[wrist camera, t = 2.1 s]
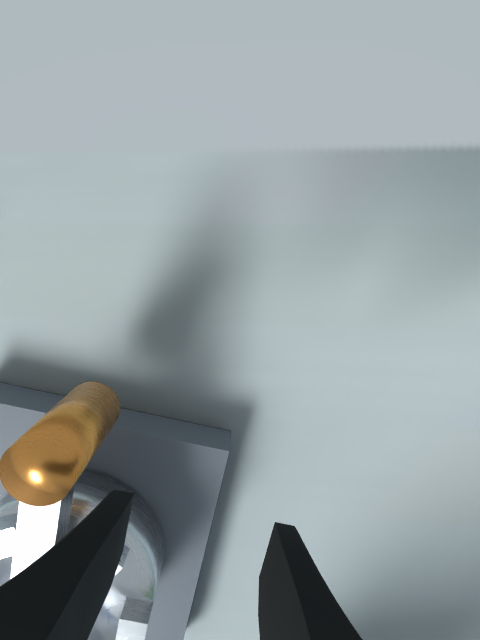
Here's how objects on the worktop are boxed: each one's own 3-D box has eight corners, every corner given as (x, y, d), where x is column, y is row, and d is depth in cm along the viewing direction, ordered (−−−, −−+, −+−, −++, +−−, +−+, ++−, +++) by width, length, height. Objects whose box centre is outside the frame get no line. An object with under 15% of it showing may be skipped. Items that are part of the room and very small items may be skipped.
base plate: (230, 431, 21) (229, 451, 19) (181, 632, 24) (176, 667, 22) (-10, 380, 21) (-36, 395, 19) (-29, 592, 24) (-54, 624, 22)
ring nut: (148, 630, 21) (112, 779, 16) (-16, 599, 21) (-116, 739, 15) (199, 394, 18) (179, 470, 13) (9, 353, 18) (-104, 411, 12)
